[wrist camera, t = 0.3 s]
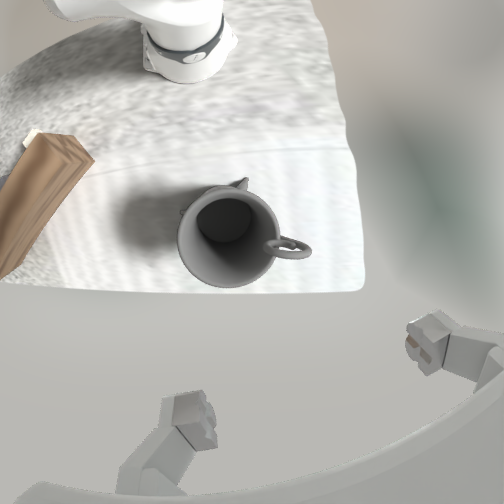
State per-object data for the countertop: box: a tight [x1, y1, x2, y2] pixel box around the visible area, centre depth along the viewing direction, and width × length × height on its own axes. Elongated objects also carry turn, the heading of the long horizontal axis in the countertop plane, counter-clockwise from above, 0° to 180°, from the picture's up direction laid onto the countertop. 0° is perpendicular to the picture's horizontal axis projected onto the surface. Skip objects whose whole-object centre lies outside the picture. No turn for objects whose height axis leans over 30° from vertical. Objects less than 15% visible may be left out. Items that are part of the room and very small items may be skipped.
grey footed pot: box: [177, 177, 312, 288], centre depth 44 cm, size 19×15×25 cm
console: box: [0, 133, 95, 280], centre depth 42 cm, size 8×33×14 cm, turn 130°
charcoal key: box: [0, 175, 9, 191], centre depth 40 cm, size 6×4×3 cm, turn 40°
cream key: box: [23, 129, 43, 149], centre depth 39 cm, size 6×4×3 cm, turn 40°
